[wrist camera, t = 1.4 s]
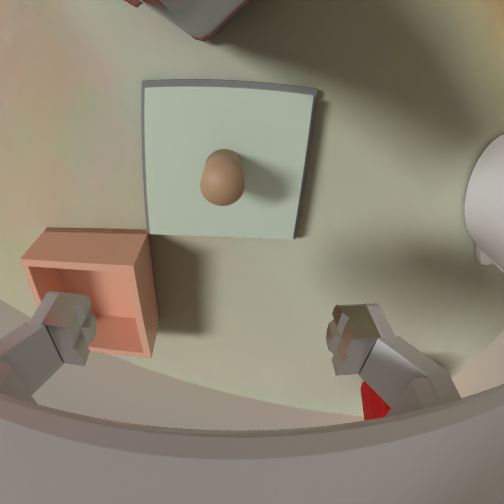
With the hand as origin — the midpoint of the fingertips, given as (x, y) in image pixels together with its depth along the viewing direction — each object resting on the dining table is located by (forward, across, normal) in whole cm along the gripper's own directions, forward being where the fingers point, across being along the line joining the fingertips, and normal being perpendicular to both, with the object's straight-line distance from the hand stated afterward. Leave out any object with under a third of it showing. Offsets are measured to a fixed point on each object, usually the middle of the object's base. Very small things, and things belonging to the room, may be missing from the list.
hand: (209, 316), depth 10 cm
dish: (+17, +12, +12) cm, 24 cm away
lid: (+17, 0, 0) cm, 17 cm away
